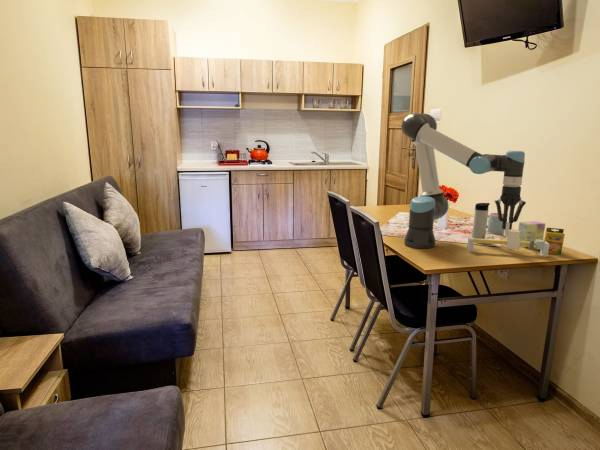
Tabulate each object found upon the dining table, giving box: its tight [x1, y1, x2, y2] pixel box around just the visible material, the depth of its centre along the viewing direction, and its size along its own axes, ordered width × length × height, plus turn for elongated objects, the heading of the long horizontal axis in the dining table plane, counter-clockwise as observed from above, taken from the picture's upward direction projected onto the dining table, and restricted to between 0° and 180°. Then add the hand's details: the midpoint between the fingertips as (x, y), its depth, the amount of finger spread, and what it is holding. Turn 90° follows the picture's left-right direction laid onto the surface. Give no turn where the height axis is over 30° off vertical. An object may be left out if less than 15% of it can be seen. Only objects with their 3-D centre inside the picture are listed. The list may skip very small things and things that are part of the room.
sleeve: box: [504, 230, 521, 250], centre depth 191 cm, size 5×5×8 cm
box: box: [517, 220, 546, 249], centre depth 203 cm, size 10×6×12 cm, turn 102°
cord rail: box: [466, 236, 549, 258], centre depth 193 cm, size 34×4×7 cm, turn 77°
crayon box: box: [543, 227, 566, 255], centre depth 192 cm, size 7×3×12 cm, turn 70°
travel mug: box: [471, 202, 491, 239], centre depth 210 cm, size 6×7×20 cm
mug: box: [486, 212, 509, 235], centre depth 230 cm, size 14×9×10 cm
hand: (505, 236), depth 191 cm, fingers closed
